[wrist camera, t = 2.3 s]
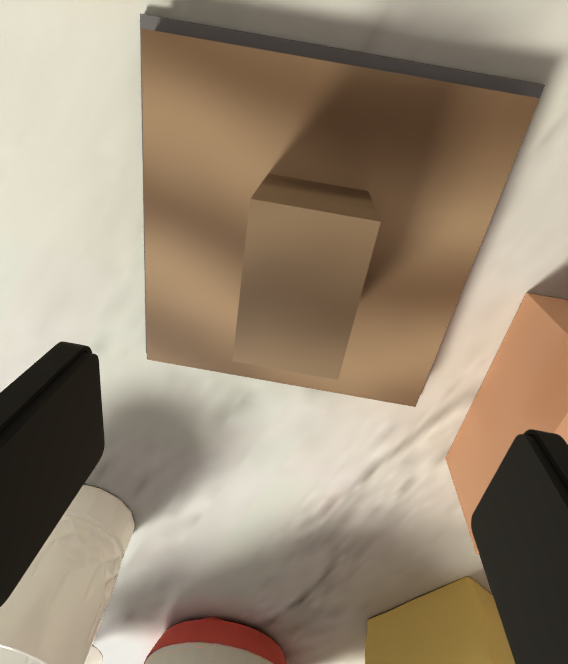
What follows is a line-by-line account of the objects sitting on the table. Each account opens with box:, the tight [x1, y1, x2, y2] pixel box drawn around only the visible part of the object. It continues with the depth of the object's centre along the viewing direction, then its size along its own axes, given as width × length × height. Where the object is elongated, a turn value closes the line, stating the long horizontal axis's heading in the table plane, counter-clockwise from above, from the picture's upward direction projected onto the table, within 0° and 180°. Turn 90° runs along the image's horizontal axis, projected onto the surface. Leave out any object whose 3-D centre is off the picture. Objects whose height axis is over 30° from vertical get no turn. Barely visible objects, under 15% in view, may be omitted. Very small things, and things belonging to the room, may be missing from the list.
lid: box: [141, 28, 540, 407], centre depth 17 cm, size 14×14×6 cm
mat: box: [140, 14, 545, 353], centre depth 19 cm, size 15×15×1 cm
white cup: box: [0, 485, 135, 664], centre depth 27 cm, size 8×8×10 cm
